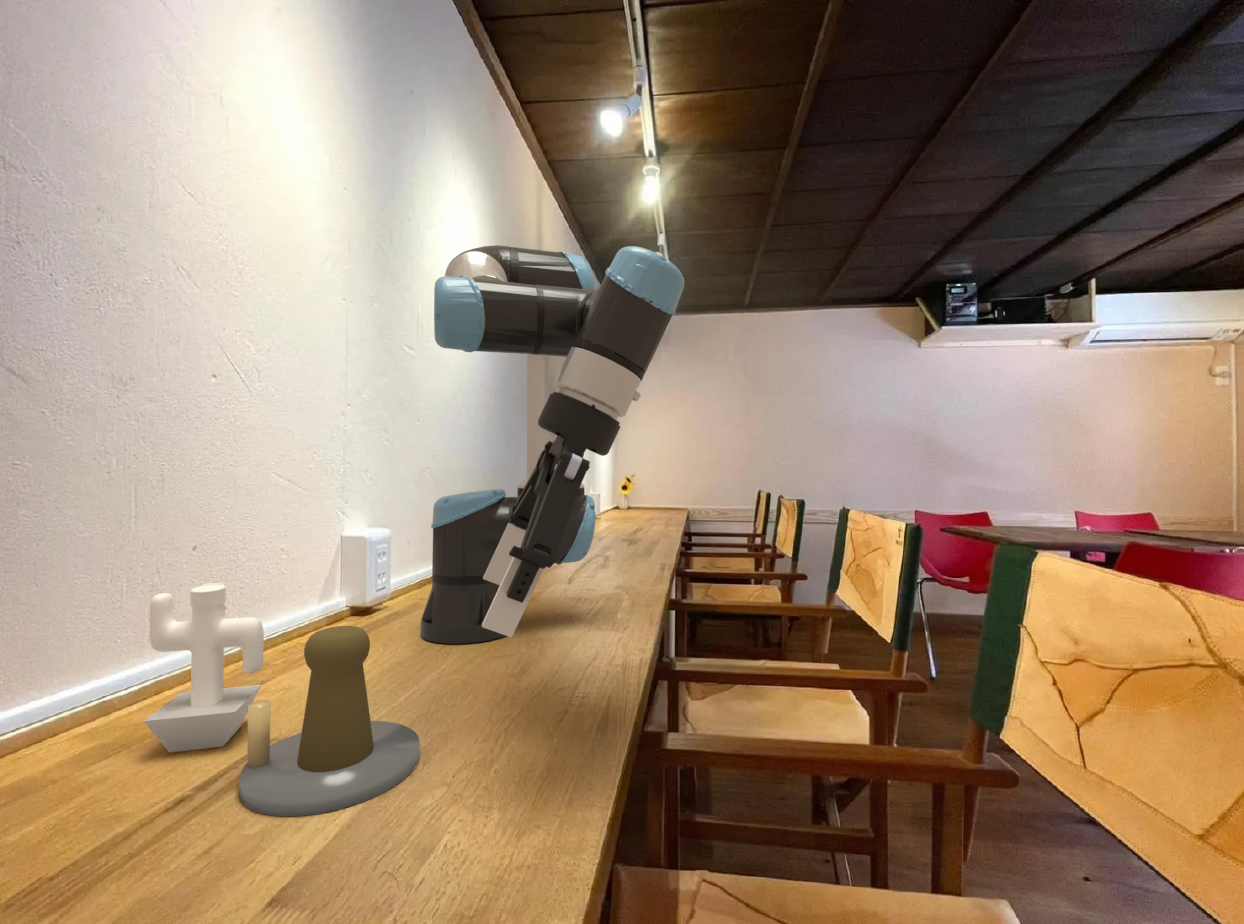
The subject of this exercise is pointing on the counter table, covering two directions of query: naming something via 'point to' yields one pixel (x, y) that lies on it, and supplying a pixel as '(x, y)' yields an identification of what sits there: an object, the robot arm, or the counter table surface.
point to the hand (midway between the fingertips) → (495, 604)
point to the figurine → (204, 669)
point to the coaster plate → (297, 792)
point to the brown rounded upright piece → (336, 701)
